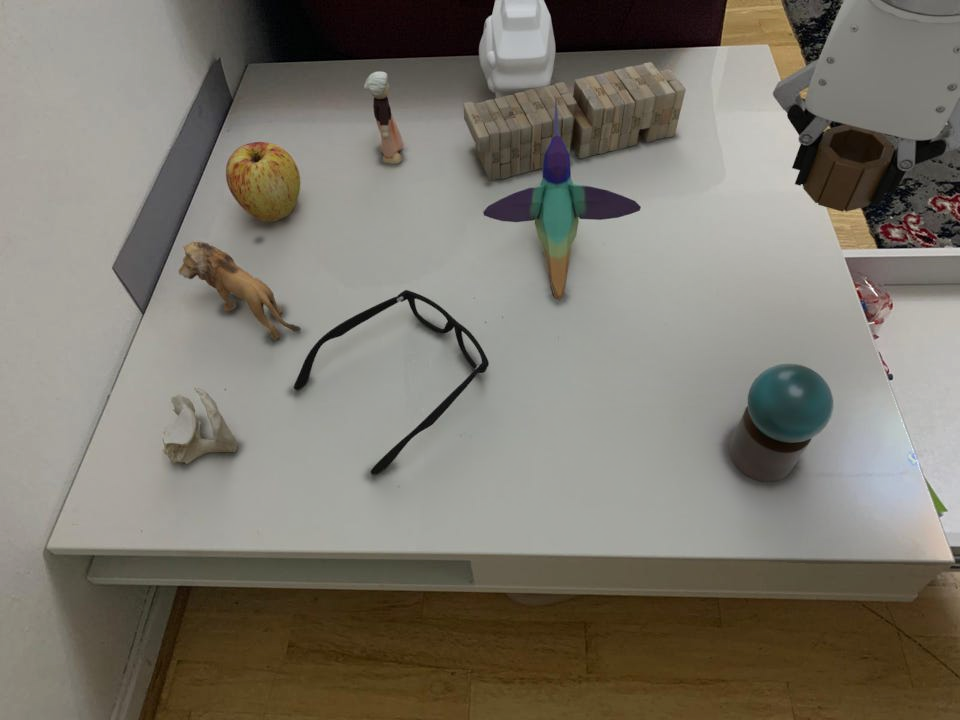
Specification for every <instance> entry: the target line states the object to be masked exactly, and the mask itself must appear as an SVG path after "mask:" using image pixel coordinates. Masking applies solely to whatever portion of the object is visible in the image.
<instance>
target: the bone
mask: <svg viewBox="0 0 960 720" xmlns="http://www.w3.org/2000/svg"><path fill="white" fill-rule="evenodd" d="M193 389H194V390H195V392H196V393H197V395H198V396H199V398H200V401H201V403H202V405H203V406H204V408H205V410H206V413H207V414H206V415H207V418H208V420H209V423H210V425H211V428H212V435H213V438H212V439H205V438H202V436H201V427H202V422H201V421H200V420H199V418H198V415H197V414H196V409H195V405H194V403H193V401H192V400H191V399H190V398H188V397H187V396H183V395H181V394H180V393H177V394H175V395H173V396H172V397H171V403H172V406H173V409H172V412H174V414H175V415H177V417H176V419H175V421H174V422H173V423H170V424H168V425H167V426H165V427H164V430H163V437H162V442H163V449H162V453H163V454H164V455H165V456H166V457H168V460H169V463H170V464H175V463H185V465H188V464H189V463H191V462H192V461H194V460H195V459H197V458H198V457H200V456H202V455H205V454H210V453H236V452H237V450H238V445H237V440H236V438H235V435H234V433H233V432H232V431H231V429H230V427H229V426H228V425H227V423H226V421H225V419H224V417H223V415H222V414H221V412H220V411H219V407H218V406H217V403H216V401H215V400H214V399H213V397H212V396H211V395H210V394H209V393H208V392H207V391H205V389H203V388H202V387H201V388H200V387H197V386H194V388H193Z"/></svg>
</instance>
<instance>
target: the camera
mask: <svg viewBox="0 0 960 720" xmlns="http://www.w3.org/2000/svg"><path fill="white" fill-rule="evenodd" d="M554 34H555V33H554V28H553V23H552V17H551V13H550V11H549V9H548V7H547V4H546V2H545V0H494V5H493V9H492V14H491V15H489V16H488V17H487V18H486V19H485V21H484V25H483V33H482V35H481V39H480V41H479V46H478V58H479V64H480V68H481V71H482V72H483V74H484V79H485V81H486V82H487V87H488V90H490V91H491V92H492V93H493V94H495V98H500V97H505V96H508V95H514V94H515V93H519V92H524V91H526V90H529V89H536V88H541V87H546V86H550V85H551V82H552V78H553V73H554V72H553V71H554V66H555V58H556V40H555V35H554Z"/></svg>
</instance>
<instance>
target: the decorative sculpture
mask: <svg viewBox="0 0 960 720" xmlns="http://www.w3.org/2000/svg"><path fill="white" fill-rule="evenodd" d="M571 169H572V168H571V156H570V157H569V153H568V151H567V149H566V147H565V145H564V143H563V141H562V139H561V138H560V136H559V125H558V111H557V102H556V98H555V117H554V137H553V139H552V141H551V143H550V145H549V147H548V149H547V151H546V153H545V156H544V164H543V168H542V176H541V177H542V178H541V181H540V183H539V185H537V186H532V187H528V188H524V189H522V190H519V191H516V192H513V193H511V194H509V195H507V196H504V197H502V198H500V199H498V200H496V201H494V202H493V203H491V204H489V205H488V206H486V208H485V209H484V210H483V212H482V213H483V217H487V218H490V219H493V220H496V221H500V222H508V223H510V222H511V223H523V222H532V221H534V226H535V231H536V234H537V237H538V240H539V242H540V244H541V245H542V250H543V255H544V259H545V262H546V263H545V264H546V267H547V271H548V277H549V281H550V285H551V289H552V292H553V297H554V298H555V300H557V301H560V300H562V299H563V298H564V295H565V289H566V283H567V278H568V273H569V265H570V260H571V249H572V245H573V243H574V240H575V239H576V237H577V232H578V227H579V222H580V221H579V219H580V220H593V221H594V220H596V221H597V220H598V221H601V220H610V219H619V218H621V217H625V216H628V215H632V214H634V213H638V212H640V211H641V208H642V206H641V205H640V204H639V203H638V202H637V201H636V200H633V199H631V198H629V197H626V196H625V195H622V194H619V193H616V192H612V191H611V190H607V189H604V188H599V187H595V186H590V185H584V184H575V183H573V180H572V174H571V172H572V171H571Z"/></svg>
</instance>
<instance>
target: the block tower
mask: <svg viewBox="0 0 960 720" xmlns="http://www.w3.org/2000/svg"><path fill="white" fill-rule="evenodd" d="M686 90H687V89H686V88H685V86H684V85H683V84H682V82H681V80H679V79H677V77H676V76H675V74H674V73H673V71H672V70H671V69H664V70H660V71H659V70H658V68H657V67H656V66H655V64H653V62H651V61H648V62H645V63H642V64H638V65H632V66H631V65H630V66H625V67H623V68H618V69H615V70H611V71H610V70H609V71H605V72H604V73H598V74H595V75H589V76H588V75H587V76H585V77H583V78H575V79H574V84H573V93H571V92H570V89H569V88H568V87H567V85H566V83H565V82H564V81H560V82H556V83H554V84H550V86H546V87H541V88H536V89H529V90H526V91H524V92H519V93H515V94H514V95H508V96H505V97H500V98H496V97H495V98H494V99H486V100H484V101H482V102H476V103H474V102H473V101H468V102H465V103H463V119H464V122H465V124H466V126H467V129H468V131H469V133H470V135H471V137H472V140H473V141H474V145H475V146H474V147H475V153H476V154H477V156H478V159H479V160H480V162H481V164H482V167H483V169H484V170H485V173H486V175H487V178H488V179H489V181H495V180H498V179H500V180H503V179H507V178H508V179H509V178H510V177H513V176H518V175H520V174H525V173H529V172H530V171H531V172H532V171H536V170H539V169H543V164H544V156H545V153H546V151H547V149H548V147H549V145H550V143H551V141H552V139H553V137H554V117H555V98H556V102H557V111H558V125H559V136H560V138H561V139H562V141H563V143H564V145H565V147H566V149H567V151H568V153H569V157H570V158H571V149H573V150H574V152H575V154H576V156H577V158H578V159H584V158H588V157H592V156H596V155H598V154H600V155H601V154H605V153H608V152H613V151H617V150H623V149H626V148H628V147H633V146H636V145H637V143H638V140H639V134H640V136H641V137H642V139H643V140H644V141H645V142H646V143H651V142H654V141H656V140H660V139H664V138H673V137H675V136H676V133H677V132H676V131H677V127H678V123H679V119H680V115H681V111H682V108H683V103H684V99H685V94H686Z"/></svg>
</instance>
